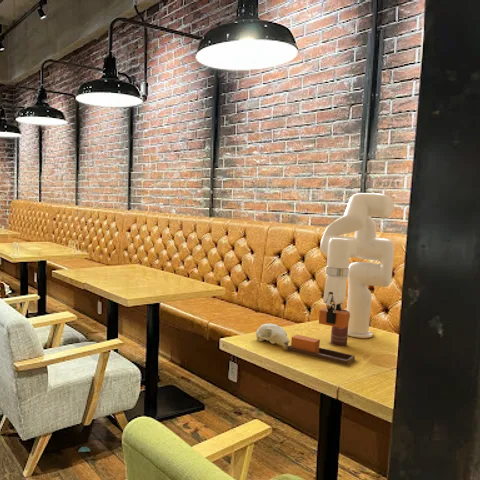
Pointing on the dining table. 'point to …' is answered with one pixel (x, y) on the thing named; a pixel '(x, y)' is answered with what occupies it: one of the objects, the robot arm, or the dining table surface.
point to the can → (339, 334)
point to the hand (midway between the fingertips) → (333, 321)
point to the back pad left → (305, 343)
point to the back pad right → (341, 318)
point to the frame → (326, 355)
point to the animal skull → (272, 334)
